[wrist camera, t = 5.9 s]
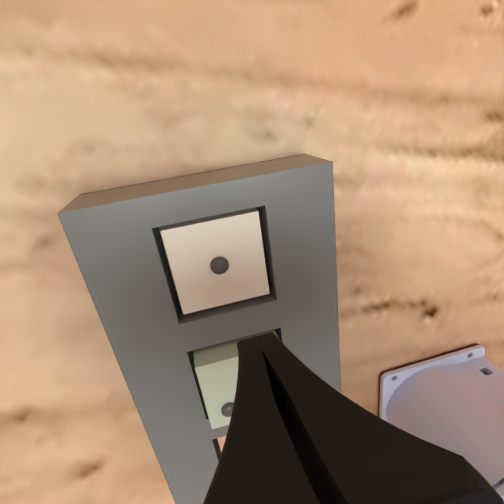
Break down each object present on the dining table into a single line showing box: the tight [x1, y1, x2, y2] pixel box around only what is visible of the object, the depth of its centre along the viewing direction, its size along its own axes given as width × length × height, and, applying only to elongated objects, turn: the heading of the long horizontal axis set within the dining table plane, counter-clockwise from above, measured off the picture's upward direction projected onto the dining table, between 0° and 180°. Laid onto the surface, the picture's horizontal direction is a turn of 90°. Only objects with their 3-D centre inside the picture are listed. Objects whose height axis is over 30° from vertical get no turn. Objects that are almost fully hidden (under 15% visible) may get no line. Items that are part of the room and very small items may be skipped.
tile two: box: [193, 329, 278, 429], centre depth 18 cm, size 5×5×2 cm
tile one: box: [160, 208, 270, 315], centre depth 17 cm, size 5×5×2 cm
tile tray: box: [57, 154, 341, 504], centre depth 20 cm, size 12×22×4 cm, turn 8°
